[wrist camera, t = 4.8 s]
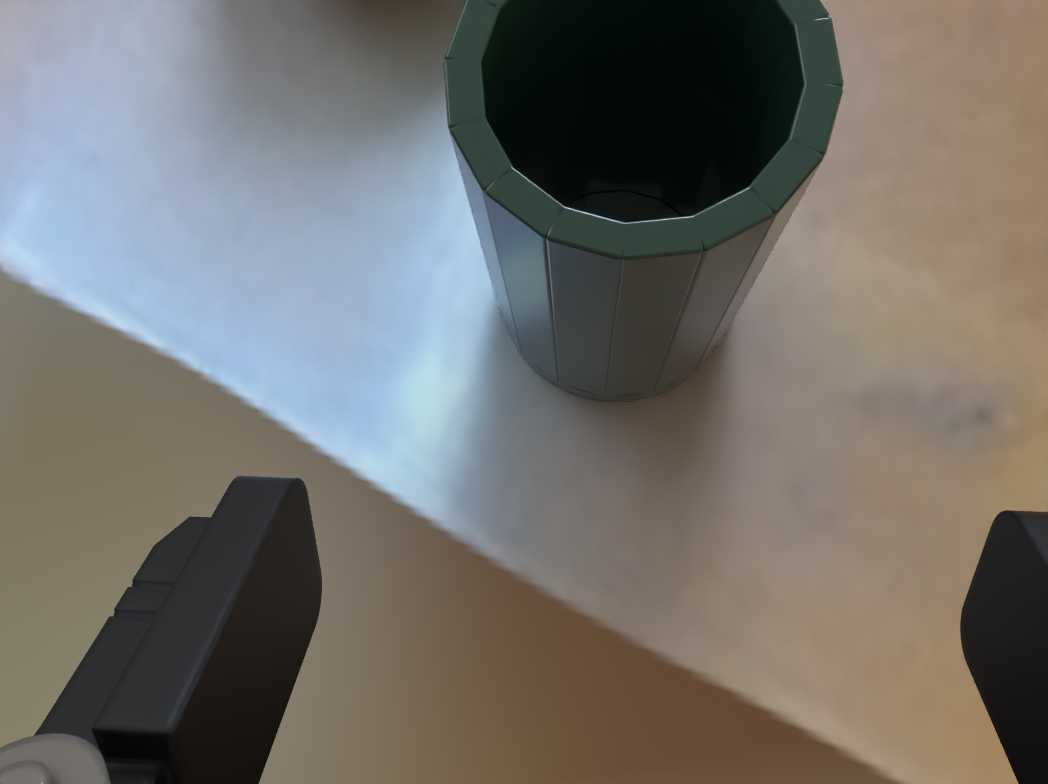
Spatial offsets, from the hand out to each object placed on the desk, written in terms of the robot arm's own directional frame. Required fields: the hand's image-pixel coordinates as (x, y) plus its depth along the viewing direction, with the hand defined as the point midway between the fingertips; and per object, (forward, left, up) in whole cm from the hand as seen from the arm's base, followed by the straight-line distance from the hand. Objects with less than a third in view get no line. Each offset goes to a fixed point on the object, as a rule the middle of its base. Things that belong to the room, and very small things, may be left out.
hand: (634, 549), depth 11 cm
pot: (-2, +7, -11) cm, 14 cm away
